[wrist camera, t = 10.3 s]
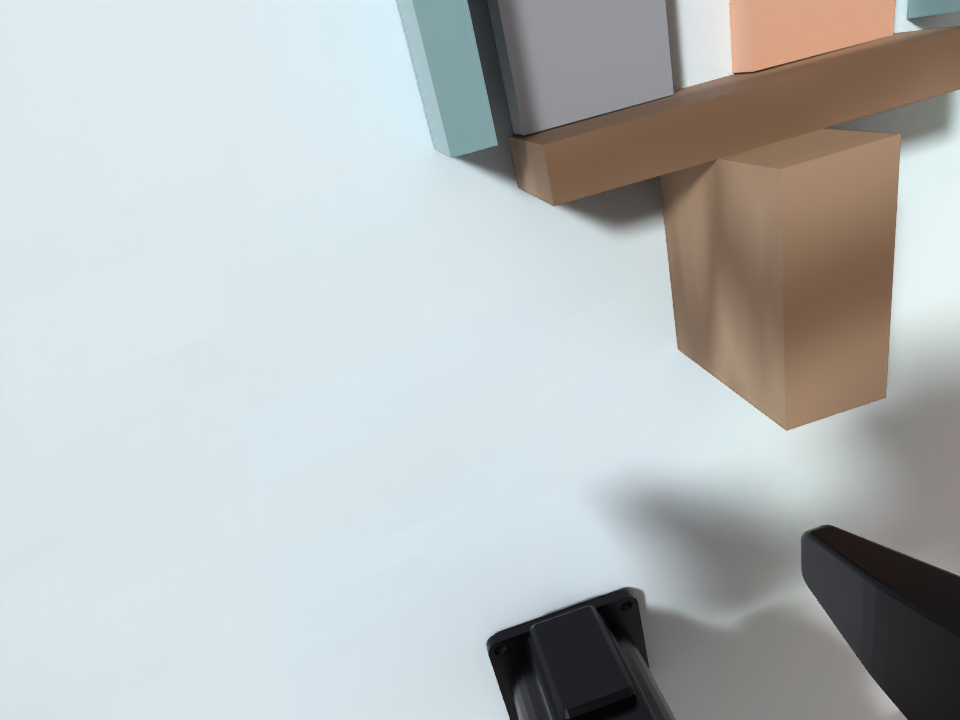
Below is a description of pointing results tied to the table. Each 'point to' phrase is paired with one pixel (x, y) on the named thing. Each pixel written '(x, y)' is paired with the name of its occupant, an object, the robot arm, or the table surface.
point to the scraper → (768, 212)
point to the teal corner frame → (458, 73)
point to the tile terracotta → (802, 29)
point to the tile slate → (579, 58)
